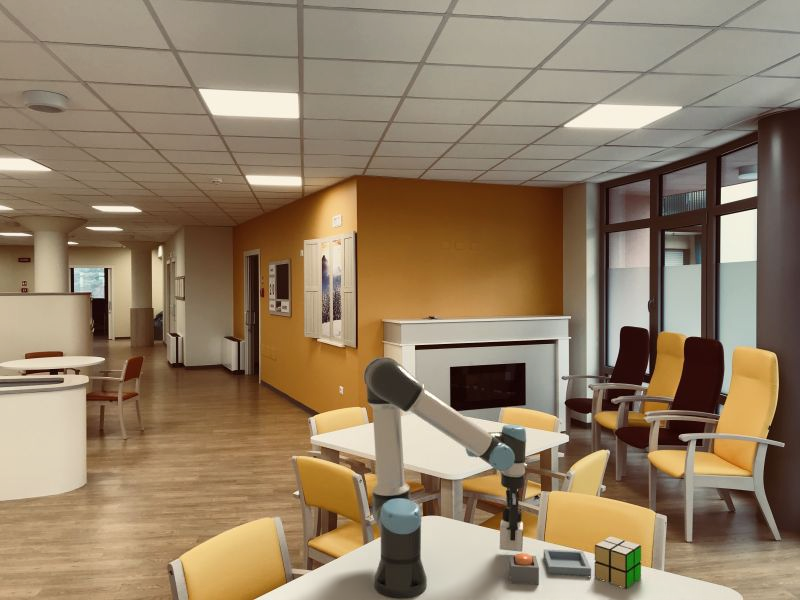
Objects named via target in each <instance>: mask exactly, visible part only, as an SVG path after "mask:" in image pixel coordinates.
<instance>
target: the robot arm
mask: <svg viewBox="0 0 800 600" xmlns="http://www.w3.org/2000/svg"><path fill="white" fill-rule="evenodd" d="M363 381H364V384H365V385H366V400H367V404H368V405H369V407H371V408H372V416H373V417H372V419H373V435H374V436H373V437H374V439H373V440H374V450H375V451H374V455H375V468H376V469H375V470H376V471H375V472H376V484H375V485H374V487H373V488H372V503H371V514H372V518H373V519H374V521H375V522H376V523H375V524H376V526H377V529H378V530H379V532H380V560H379V563H378V566H377V569H376V572H375V576H374V589H375V590H376V592H378V593H379V594H381V595H383V596H386V597H389V598H395V599H396V598H397V599H406V598H411V597H416V596H418V595H420V594H423V593H424V592H425V591H426V589H427V585H428V584H427V582H428V580H427V579H428V578H427V574H426V572H425V569H424V565H423V562H422V559H421V558H422V557H421V556H422V555H421V554H422V552H421V551H422V550H421V548H422V547H421V546H422V545H421V544H422V542H421V540H422V534H421V533H422V513H421V507H420V506H419V505H418V503H416V502H415V501H412V500H411V489H410V488H411V487H410V485H409V484H408V483H407V482H405V469H404V451H403V435H402V434H403V432H402V416H401V415H402V414H401V410H402V411H403V412H405V413H407V412H411V413H412V414H414V415H416V416H417V417H419V418H420V419H422V420H423V421H424V422H425V423H427V424H429V425H430V426H432V427H434V428H435V429H436V430H438V431H439V432H441V433H443V434H444V435H445V436H447V437H448V438H450V439H451V440H453V441H454V442H456V443H457V444H459V445H461V446H462V447H463V448H465V451H466V452H465V453H466V454H467V456H468V457H470V458H471V457H472V458H479V459H481V460H482V461H484V462H486V464H488V465H490V466H491V468H493V469H494V470H497V471H499V472H501V474H500V485H501V486H502V487H503V488H506V490H505V497H506V498H505V501H506V508H509V528H507V530H508V550H507V551H510V550H517V530H518V509H519V501H520V492H519V490H518V489H523V488H524V487H525V486H526V485H525V484H526V483H525V482H526V481H525V480H526V476H525V473H526V468H527V466H528V464H526V449H527V448H526V445H527V434H526V433H527V432H526V428H525V427H523V426H522V425H519V424H504V425H503V426H502V428H501V431H499V432H493V431H492V432H488V431H486V430H485V429H483V428H482V427H480V426H479V425H478V424H476V423H475V422H474V421H471V420H470V419H468V418H467V417H466V416H464V415H463V414H461V413H460V412H458V411H457V410H456V409H454V408H453V407H451V406H450V405H449V404H447V403H445V402H444V401H442V400H441V399H440V398H438V397H437V396H435V395H434V394H432V393H431V392H429V391H427V390H426V388H425V386H424V383H422V382H420V380H418V379H416V377H414V376H413V375H412V374H411V373H410V372H409V371H408V370H407V369H406V368H404V366H403V365H402V364H400V363H398V361H396V360H395V359H393V358H391V357H383V356H381V357H378V358H377V357H376V358H375V359H372V360H371V361H370V362H369V363H368V364H367V365H366V368H365V370H364V372H363Z"/></svg>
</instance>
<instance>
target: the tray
mask: <svg viewBox="0 0 800 600" xmlns="http://www.w3.org/2000/svg"><path fill="white" fill-rule="evenodd" d="M543 560H544V563H545V567H546V569H547V573H548V575H549V576H564V577H565V576H566V577H567V576H569V577H570V576H571V577H587V578H588V577H589V576H590V578H591V577H592V567H591V564H590V563H589V561H588V559H587V557H586V554H585V553H584V551H583V550H569V549H568V550H565V549H543Z"/></svg>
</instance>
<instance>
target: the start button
mask: <svg viewBox="0 0 800 600" xmlns="http://www.w3.org/2000/svg"><path fill="white" fill-rule="evenodd" d="M514 555H515V565H529V566H532V556H533V555H530V554H528V553H521V552H520V553H516V554H514Z"/></svg>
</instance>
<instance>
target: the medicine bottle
mask: <svg viewBox="0 0 800 600" xmlns="http://www.w3.org/2000/svg"><path fill="white" fill-rule="evenodd" d="M522 514H523V513H522V511H521V510H520V509H519V508H518V530H517V550H508V530H507V528H509V508H507V507H506V508H504V509H502V514H501V515H502V517H501V518H502V519H501V520H500V526H499V550H502V551H511V552H520V553H521V552H523V544H524V543H523V541H524V540H523V539H524V538H523V536H524V522H523V521H522Z"/></svg>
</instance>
